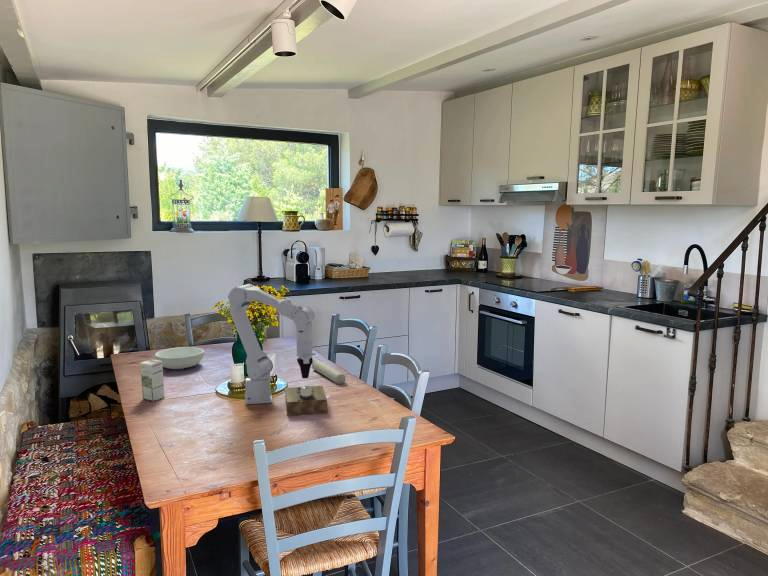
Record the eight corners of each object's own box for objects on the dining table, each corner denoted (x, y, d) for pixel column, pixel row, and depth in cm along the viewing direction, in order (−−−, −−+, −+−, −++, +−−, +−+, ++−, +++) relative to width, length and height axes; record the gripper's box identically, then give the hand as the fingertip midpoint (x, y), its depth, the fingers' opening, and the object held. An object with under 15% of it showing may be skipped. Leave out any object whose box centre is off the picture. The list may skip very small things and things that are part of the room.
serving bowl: (214, 364, 266) (213, 350, 265) (176, 376, 248) (175, 360, 247) (184, 358, 277) (183, 344, 276) (145, 368, 259) (144, 353, 258)
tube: (349, 374, 238) (323, 359, 260) (338, 372, 236) (313, 357, 257) (345, 387, 238) (320, 371, 260) (334, 385, 236) (310, 369, 257)
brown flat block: (287, 415, 203) (286, 401, 202) (285, 400, 218) (285, 387, 217) (327, 413, 205) (326, 398, 205) (322, 398, 221) (322, 384, 220)
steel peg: (301, 403, 205) (300, 389, 204) (300, 399, 209) (300, 386, 208) (312, 402, 206) (312, 389, 205) (311, 398, 210) (311, 385, 209)
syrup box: (165, 397, 221) (163, 360, 219) (153, 401, 216) (150, 364, 214) (154, 395, 224) (151, 358, 222) (141, 399, 219) (139, 362, 216)
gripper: (317, 345, 203) (318, 383, 205) (313, 336, 217) (314, 371, 219) (297, 346, 202) (298, 384, 204) (294, 337, 216) (295, 372, 218)
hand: (305, 377), depth 212 cm, fingers closed
